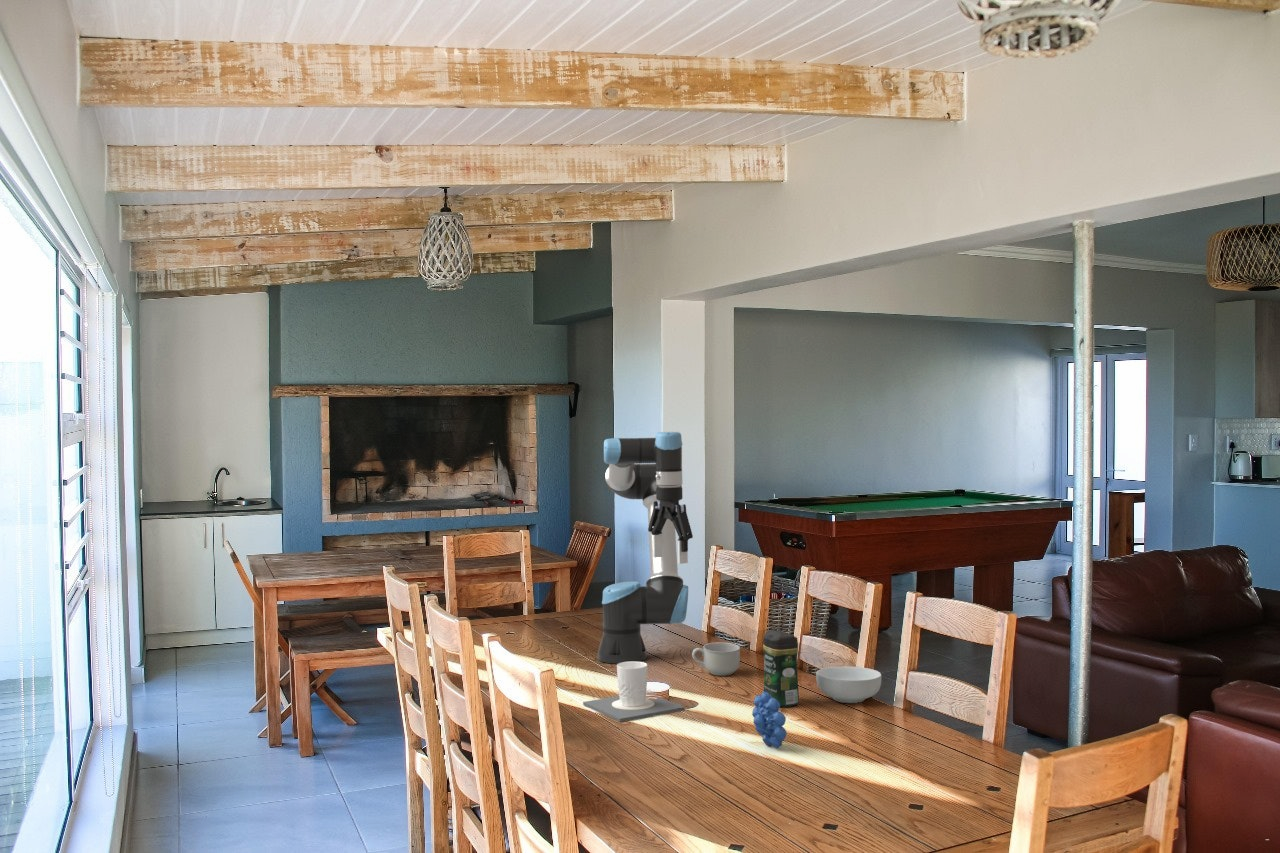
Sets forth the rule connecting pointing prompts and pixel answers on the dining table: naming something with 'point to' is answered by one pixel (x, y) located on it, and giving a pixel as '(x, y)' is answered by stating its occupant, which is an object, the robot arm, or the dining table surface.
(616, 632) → the robot arm
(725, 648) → the teacup
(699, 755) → the dining table surface
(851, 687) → the cereal bowl
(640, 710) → the mat
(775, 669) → the coffee jar
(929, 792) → the dining table surface
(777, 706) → the grapes
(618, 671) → the white cup
